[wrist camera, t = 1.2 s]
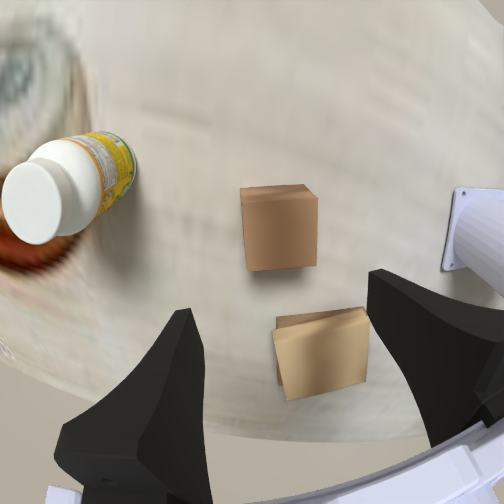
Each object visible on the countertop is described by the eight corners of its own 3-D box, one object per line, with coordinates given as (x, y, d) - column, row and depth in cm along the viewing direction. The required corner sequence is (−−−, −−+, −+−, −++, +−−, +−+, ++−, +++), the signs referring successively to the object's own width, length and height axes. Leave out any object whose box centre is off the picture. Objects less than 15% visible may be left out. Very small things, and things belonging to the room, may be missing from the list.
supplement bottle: (126, 120, 18) (53, 127, 10) (147, 189, 21) (92, 242, 12) (65, 146, 19) (-19, 173, 10) (87, 210, 21) (17, 268, 12)
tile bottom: (360, 302, 27) (367, 313, 25) (349, 362, 30) (354, 374, 29) (275, 312, 27) (277, 324, 25) (276, 372, 30) (278, 385, 28)
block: (303, 183, 21) (317, 198, 18) (303, 241, 23) (316, 265, 20) (240, 187, 21) (241, 203, 18) (244, 246, 23) (246, 271, 19)
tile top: (362, 308, 25) (369, 321, 23) (360, 369, 28) (365, 381, 27) (271, 330, 25) (274, 344, 23) (284, 387, 28) (286, 401, 27)
